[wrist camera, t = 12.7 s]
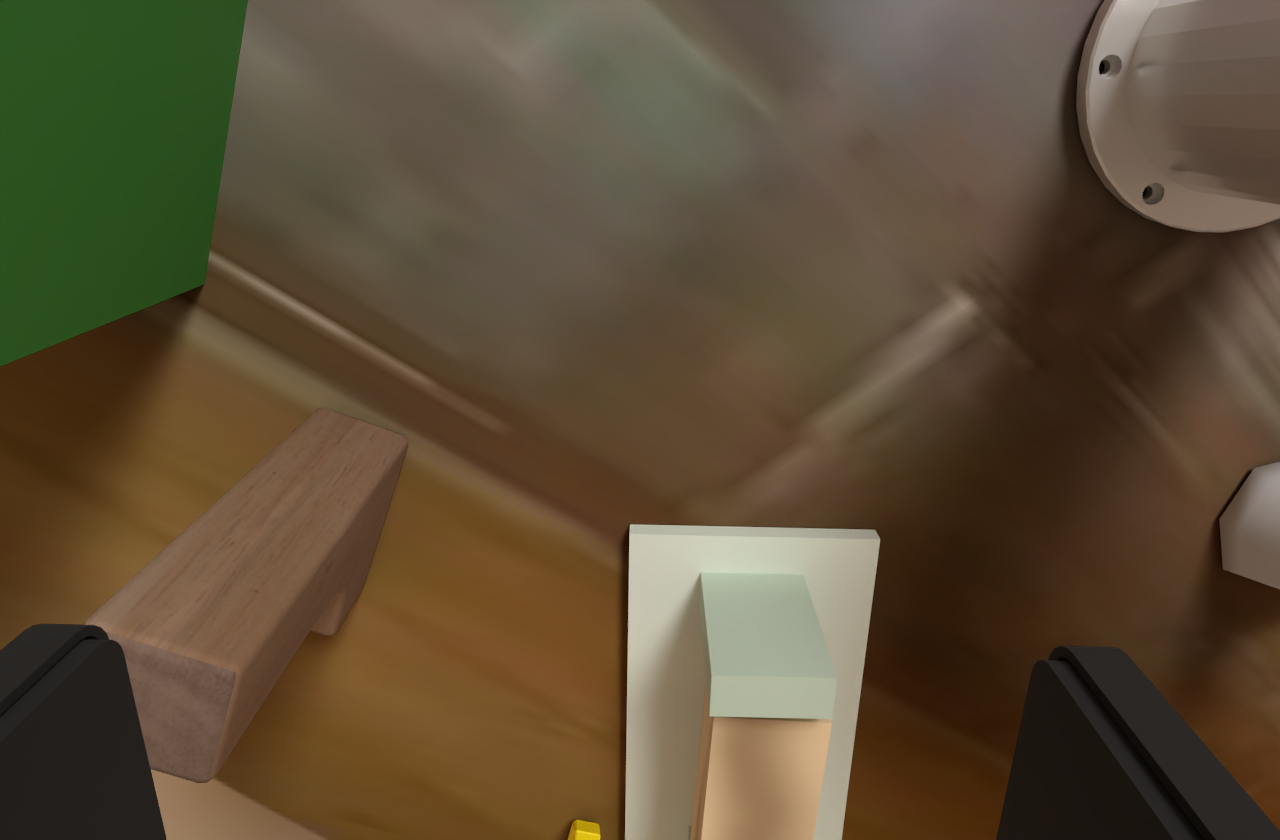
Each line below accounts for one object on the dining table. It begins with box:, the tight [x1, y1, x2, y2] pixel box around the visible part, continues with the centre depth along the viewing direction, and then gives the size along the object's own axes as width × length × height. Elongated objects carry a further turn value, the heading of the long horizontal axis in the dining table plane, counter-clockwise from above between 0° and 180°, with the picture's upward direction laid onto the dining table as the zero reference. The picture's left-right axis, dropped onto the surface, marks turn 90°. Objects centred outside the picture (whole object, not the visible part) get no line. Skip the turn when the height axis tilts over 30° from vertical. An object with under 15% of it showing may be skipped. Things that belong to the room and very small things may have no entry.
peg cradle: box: [625, 524, 880, 840], centre depth 41 cm, size 12×22×9 cm, turn 179°
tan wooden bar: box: [690, 685, 832, 840], centre depth 40 cm, size 5×12×4 cm, turn 177°
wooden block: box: [83, 408, 408, 783], centre depth 33 cm, size 9×4×18 cm, turn 159°
